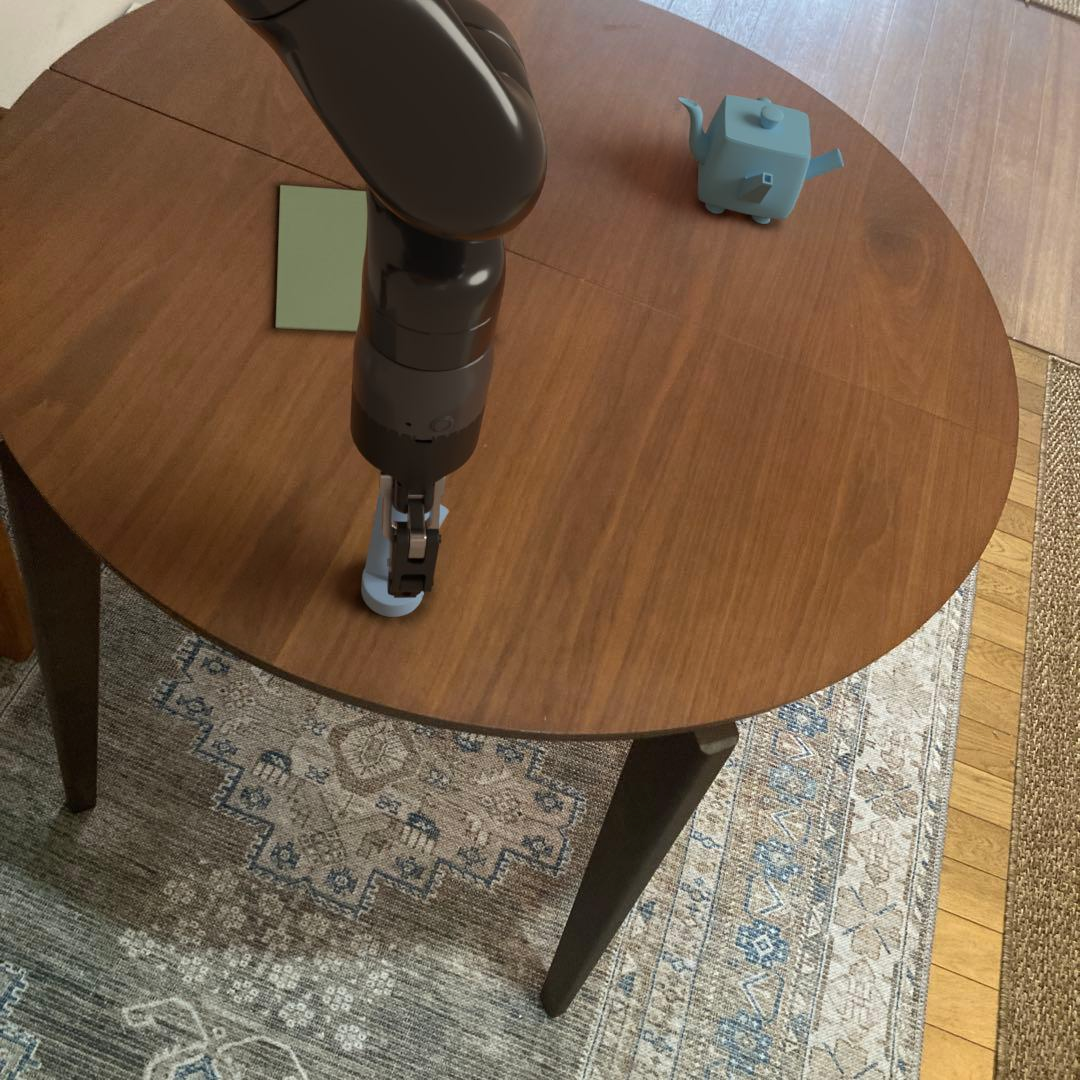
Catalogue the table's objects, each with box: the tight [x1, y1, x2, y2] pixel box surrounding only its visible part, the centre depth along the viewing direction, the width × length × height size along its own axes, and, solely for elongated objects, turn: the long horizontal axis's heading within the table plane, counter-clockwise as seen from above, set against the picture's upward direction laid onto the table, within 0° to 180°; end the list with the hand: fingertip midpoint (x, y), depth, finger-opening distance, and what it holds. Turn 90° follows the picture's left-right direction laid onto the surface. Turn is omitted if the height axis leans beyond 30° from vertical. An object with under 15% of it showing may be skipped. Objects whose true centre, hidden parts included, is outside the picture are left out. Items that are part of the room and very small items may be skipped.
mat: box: [275, 184, 367, 333], centre depth 94 cm, size 18×18×1 cm
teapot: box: [678, 94, 845, 225], centre depth 104 cm, size 18×14×10 cm
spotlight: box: [360, 490, 450, 618], centre depth 72 cm, size 5×10×7 cm
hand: (401, 539), depth 71 cm, fingers open, 7 cm apart
